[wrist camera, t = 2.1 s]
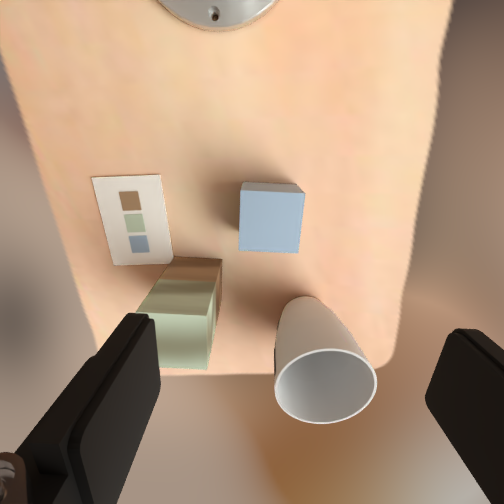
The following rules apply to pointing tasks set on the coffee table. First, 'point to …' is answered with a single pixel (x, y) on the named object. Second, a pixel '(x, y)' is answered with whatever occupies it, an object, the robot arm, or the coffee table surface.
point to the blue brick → (270, 217)
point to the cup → (319, 365)
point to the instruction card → (134, 219)
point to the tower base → (185, 311)
